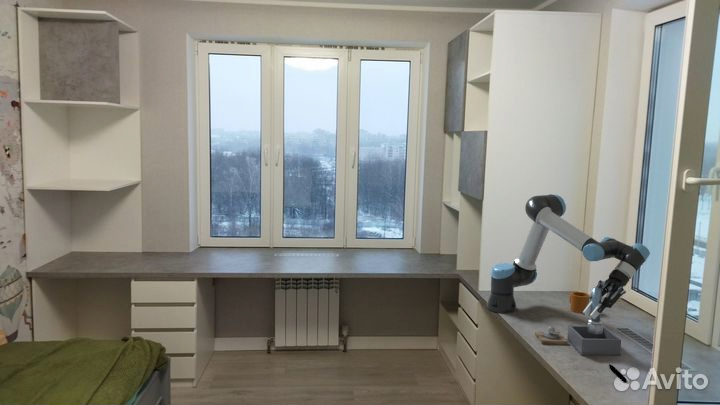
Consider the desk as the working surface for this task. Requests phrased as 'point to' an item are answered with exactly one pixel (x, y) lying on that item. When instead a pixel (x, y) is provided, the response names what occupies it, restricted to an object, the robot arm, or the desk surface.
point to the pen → (617, 373)
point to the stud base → (551, 337)
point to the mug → (579, 301)
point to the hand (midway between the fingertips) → (588, 315)
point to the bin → (594, 342)
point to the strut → (596, 324)
